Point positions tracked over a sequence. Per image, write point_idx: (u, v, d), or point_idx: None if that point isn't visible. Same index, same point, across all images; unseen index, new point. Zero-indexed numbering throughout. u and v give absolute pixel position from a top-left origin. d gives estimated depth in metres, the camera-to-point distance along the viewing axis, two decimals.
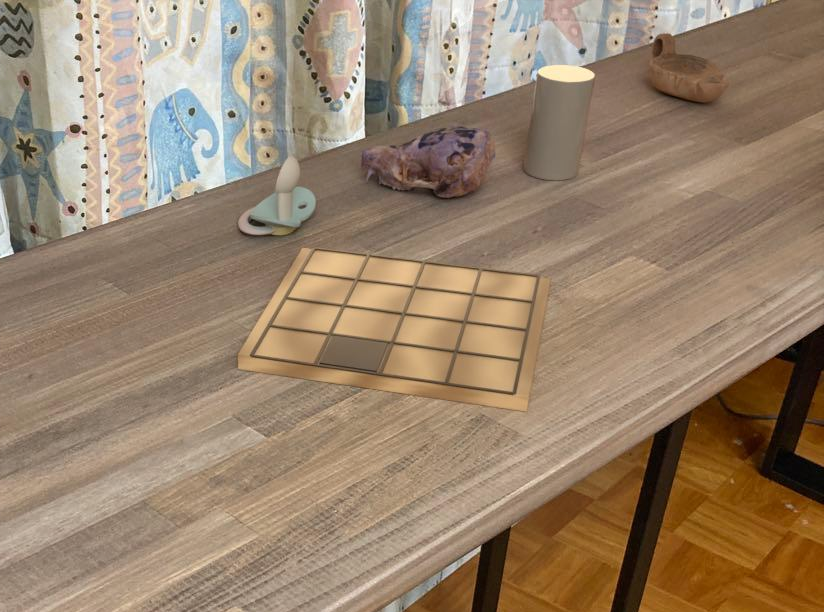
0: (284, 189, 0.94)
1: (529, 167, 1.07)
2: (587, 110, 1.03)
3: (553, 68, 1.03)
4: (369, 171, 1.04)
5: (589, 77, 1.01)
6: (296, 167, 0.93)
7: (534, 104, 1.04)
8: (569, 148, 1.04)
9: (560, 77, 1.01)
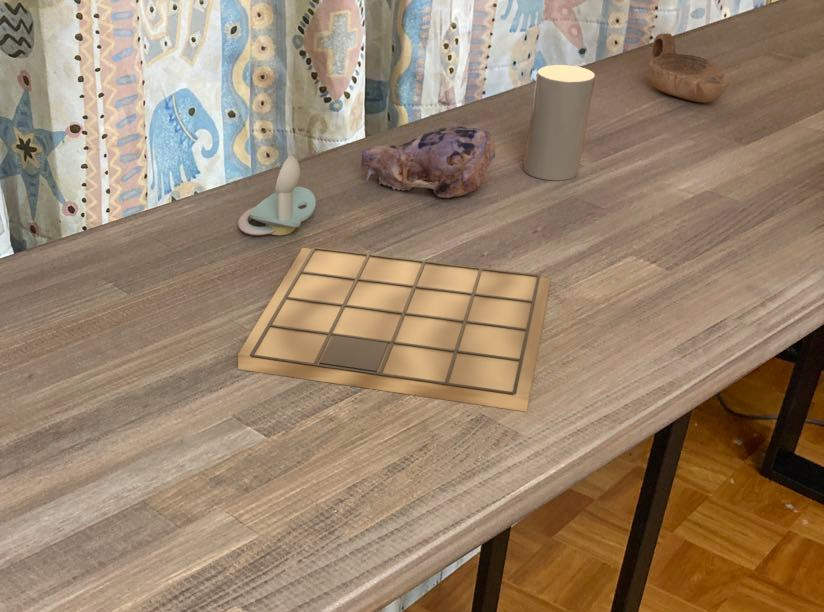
0: (284, 189, 0.94)
1: (529, 167, 1.07)
2: (587, 110, 1.03)
3: (553, 68, 1.03)
4: (369, 171, 1.04)
5: (589, 77, 1.01)
6: (296, 167, 0.93)
7: (534, 104, 1.04)
8: (569, 148, 1.04)
9: (560, 77, 1.01)
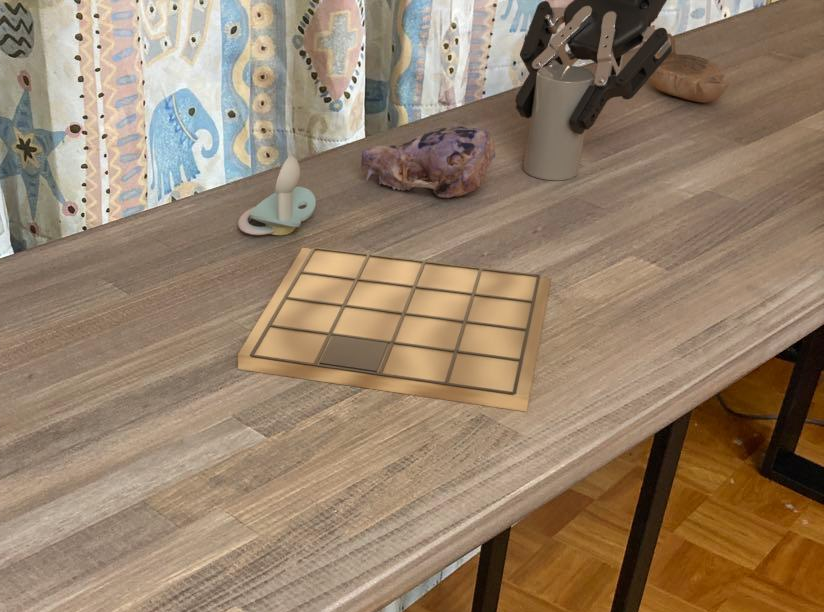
0: (284, 189, 0.94)
1: (529, 167, 1.07)
2: None
3: (552, 68, 1.03)
4: (369, 171, 1.04)
5: (589, 77, 1.01)
6: (296, 167, 0.93)
7: (534, 104, 1.04)
8: (569, 148, 1.04)
9: (560, 77, 1.01)
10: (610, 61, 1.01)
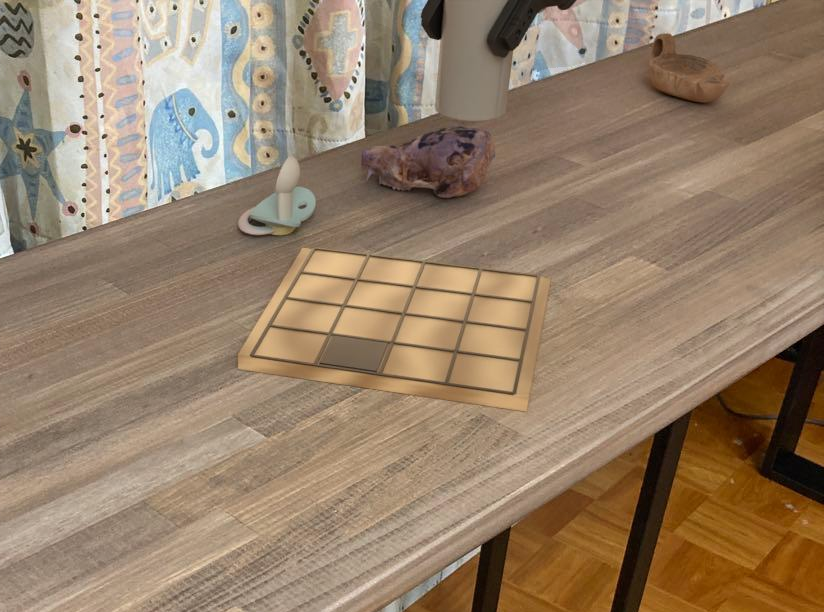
0: (284, 189, 0.94)
1: (441, 104, 0.82)
2: None
3: None
4: (369, 171, 1.04)
5: None
6: (296, 167, 0.93)
7: (443, 19, 0.79)
8: (490, 78, 0.79)
9: None
10: None
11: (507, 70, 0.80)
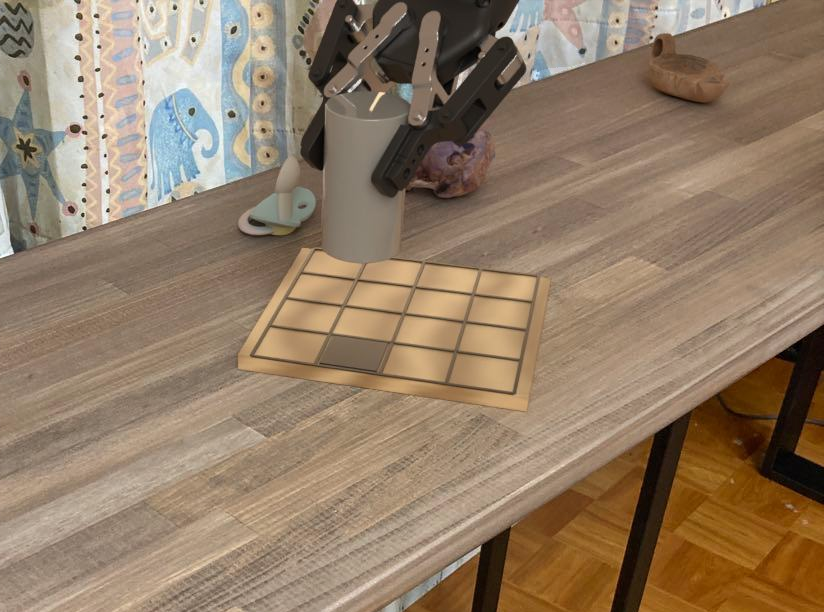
0: (284, 189, 0.94)
1: (325, 243, 0.72)
2: None
3: (351, 97, 0.68)
4: None
5: (401, 111, 0.66)
6: (296, 167, 0.93)
7: (324, 151, 0.69)
8: (378, 217, 0.69)
9: (356, 112, 0.66)
10: (431, 88, 0.65)
11: (399, 208, 0.70)
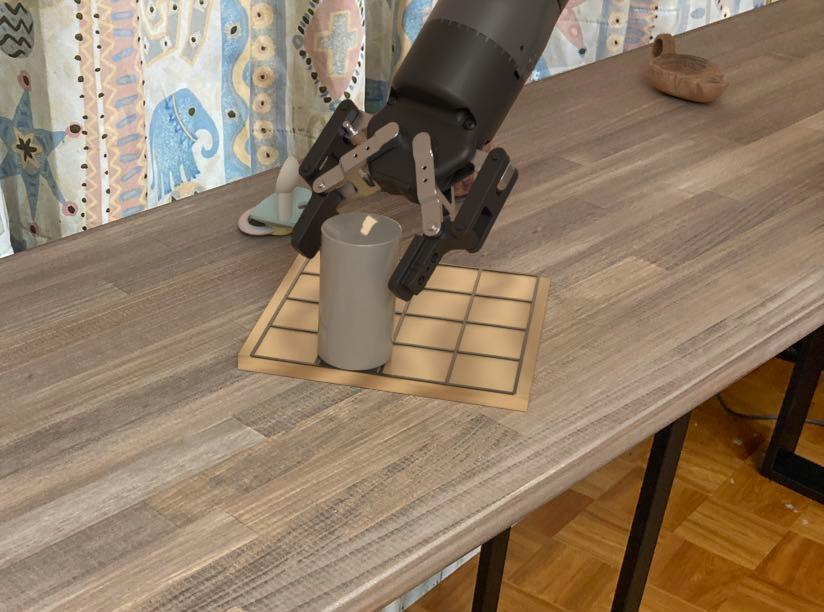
0: (284, 189, 0.94)
1: (321, 350, 0.77)
2: None
3: (345, 219, 0.73)
4: None
5: (391, 236, 0.71)
6: (296, 167, 0.93)
7: (320, 269, 0.74)
8: (370, 330, 0.74)
9: (350, 236, 0.71)
10: (438, 199, 0.69)
11: (390, 320, 0.75)
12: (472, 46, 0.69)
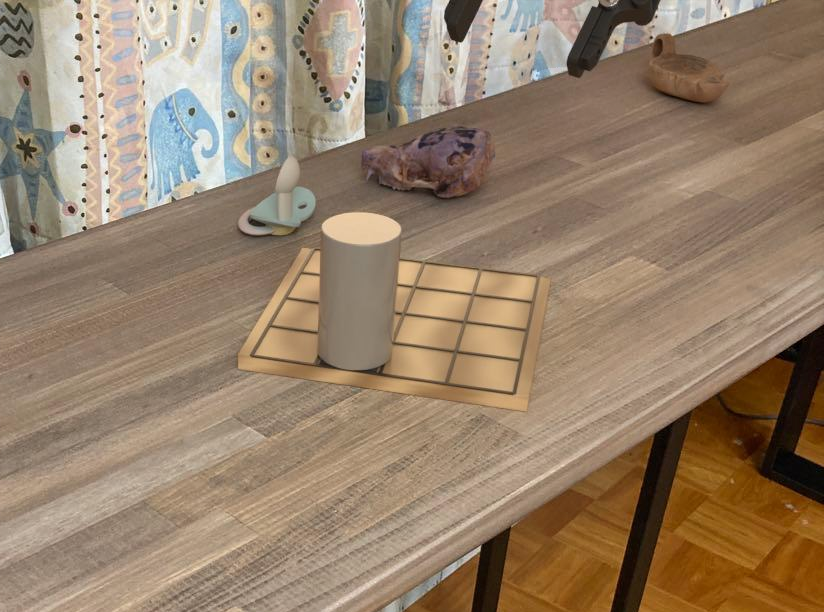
0: (284, 189, 0.94)
1: (321, 350, 0.77)
2: (392, 279, 0.73)
3: (345, 219, 0.73)
4: (369, 171, 1.04)
5: (391, 236, 0.71)
6: (296, 167, 0.93)
7: (320, 269, 0.74)
8: (370, 330, 0.74)
9: (350, 236, 0.71)
10: None
11: (390, 320, 0.75)
12: None
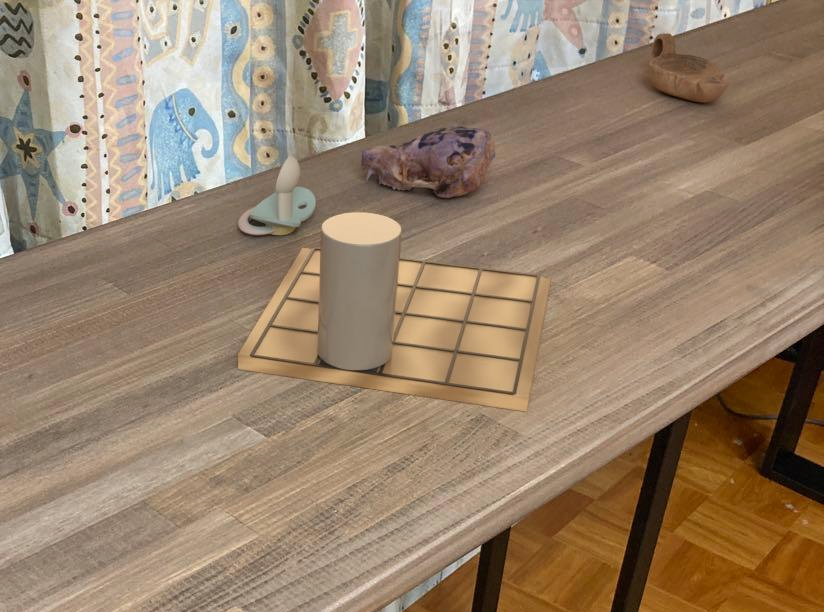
0: (284, 189, 0.94)
1: (321, 350, 0.77)
2: (392, 279, 0.73)
3: (345, 219, 0.73)
4: (369, 171, 1.04)
5: (391, 236, 0.71)
6: (296, 167, 0.93)
7: (320, 269, 0.74)
8: (370, 330, 0.74)
9: (350, 236, 0.71)
10: None
11: (390, 320, 0.75)
12: None
